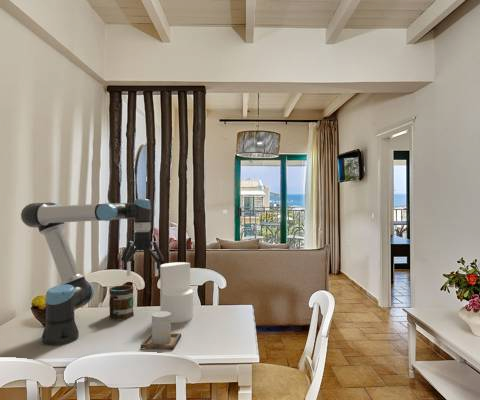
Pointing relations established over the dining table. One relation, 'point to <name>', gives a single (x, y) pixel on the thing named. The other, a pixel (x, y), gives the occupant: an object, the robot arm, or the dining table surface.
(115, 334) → the dining table surface
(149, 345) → the tray
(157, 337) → the grey upright rounded piece
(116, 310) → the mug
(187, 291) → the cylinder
